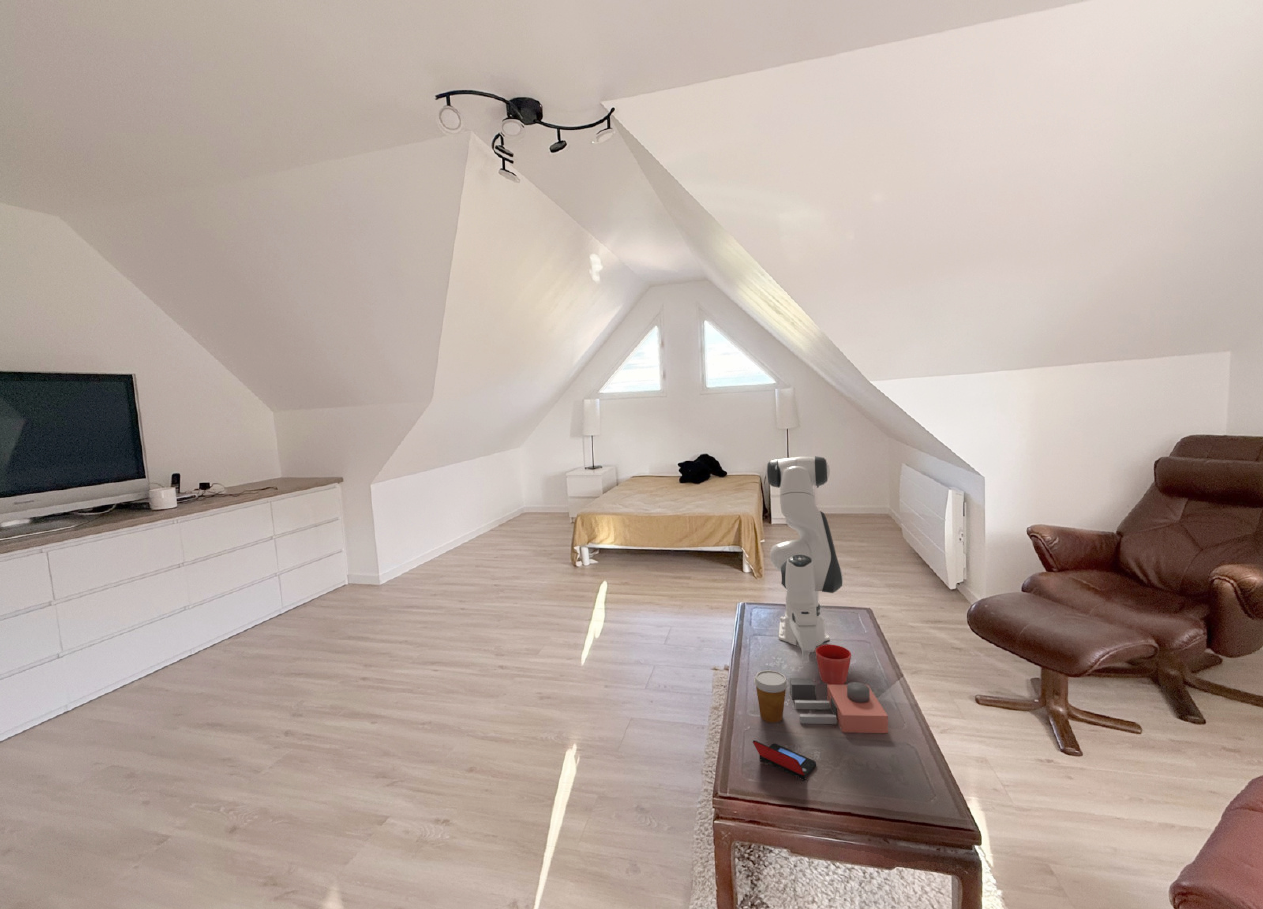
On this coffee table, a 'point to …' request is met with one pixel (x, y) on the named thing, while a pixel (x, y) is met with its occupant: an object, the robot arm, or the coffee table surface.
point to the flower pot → (833, 663)
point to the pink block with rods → (848, 709)
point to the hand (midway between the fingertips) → (801, 652)
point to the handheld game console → (785, 759)
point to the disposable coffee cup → (771, 694)
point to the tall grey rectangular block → (802, 689)
